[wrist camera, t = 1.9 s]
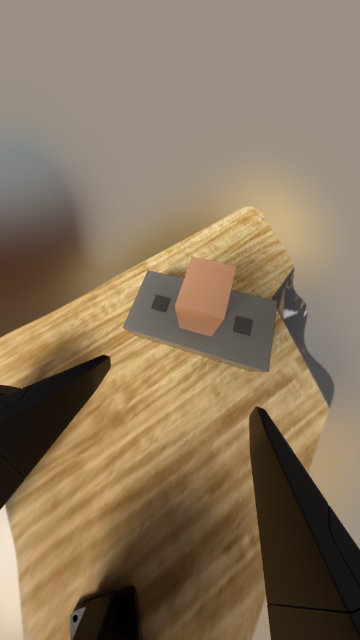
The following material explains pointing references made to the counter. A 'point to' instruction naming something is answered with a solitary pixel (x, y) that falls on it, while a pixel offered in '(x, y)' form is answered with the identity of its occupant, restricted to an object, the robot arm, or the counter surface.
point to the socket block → (224, 345)
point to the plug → (204, 296)
